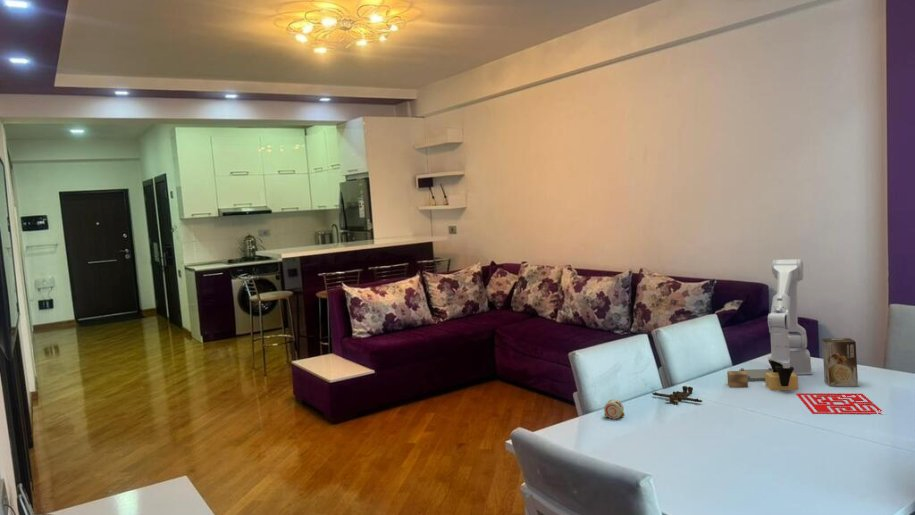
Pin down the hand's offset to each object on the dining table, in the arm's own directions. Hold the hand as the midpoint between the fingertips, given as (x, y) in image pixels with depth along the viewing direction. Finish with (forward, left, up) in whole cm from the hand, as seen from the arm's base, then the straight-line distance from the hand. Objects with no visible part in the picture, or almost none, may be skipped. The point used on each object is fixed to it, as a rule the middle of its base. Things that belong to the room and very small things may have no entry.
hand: (781, 382), depth 220 cm
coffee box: (-20, -3, -2) cm, 20 cm away
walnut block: (+14, -3, -2) cm, 14 cm away
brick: (0, 0, -2) cm, 2 cm away
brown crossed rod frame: (+36, +11, -2) cm, 38 cm away
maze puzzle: (-12, +18, -2) cm, 22 cm away
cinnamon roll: (+59, +30, -2) cm, 66 cm away
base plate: (+4, -14, -2) cm, 15 cm away
